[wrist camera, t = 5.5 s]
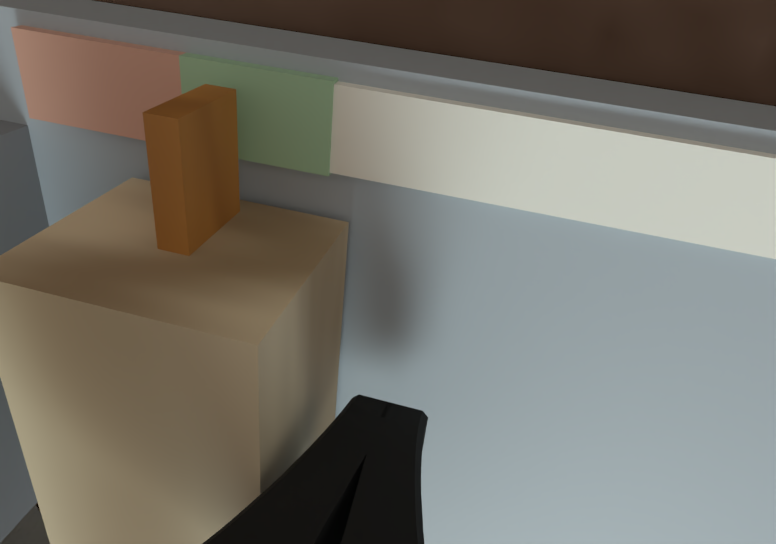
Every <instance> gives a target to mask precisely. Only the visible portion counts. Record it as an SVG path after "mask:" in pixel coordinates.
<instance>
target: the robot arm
mask: <svg viewBox="0 0 776 544" xmlns="http://www.w3.org/2000/svg"><path fill="white" fill-rule="evenodd" d="M427 422H428V417H427V415H426V414H425V413H424V412H423V411H422V410H418V409H414V408H410V407H406V406H402V405H398V404H395V403H391V402H387V401H383V400H379V399H375V398H371V397H367V396H363V395H357V396H355V397H353V398H352V399H351V400H350V401H349V403H348V404H347V405H346V406H345V408H344V409H343V410H342V411H341V412H340V414H339V415H338V416H337V417H336V418H335V420H334V421H333V422H332V423H331V424H330V425H329V426H328V428H327V429H326V430H325V431H324V432H323V433H322V434H321V435H320V436H319V437H318V438H317V440H316V441H315V442H314V443H313V444H312V445H311V446H310V447H309V448H308V449H307V450H306V451H305V452H304V453H303V454H302V455H301V456H300V457H299V458H298V459H297V460H296V461H295V462H294V463H293V464H292V465H291V466H290V467H289V468H288V469H287V470H286V471H285V472H284V473H283V474H282V475H281V476H280V477H279V478H278V479H277V480H276V481H275V482H274V483H273V484H271V485H270V486H269V487H268V488H267V489H266V490H265V491H264V492H263V493H261V494H260V495H259V496H258V497H257V498H256V499H255V500H254V501H252V502H251V503H250V504H249V505H248V506H247V507H246V508H245V509H243V510H242V511H241V512H240V513H239V514H238V515H237V516H235V517H234V518H233V519H232V520H231V521H230V522H228V523H227V524H226V525H225V526H223V527H222V528H221V529H220V530H219V531H217V532H216V533H215V534H214V535H212V536H211V537H210V538H209V539H207V540H206V541H205V542H204V543H202V544H424V533H423V516H422V498H421V462H422V450H423V444H424V438H425V433H426V427H427Z"/></svg>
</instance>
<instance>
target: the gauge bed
mask: <svg viewBox="0 0 776 544" xmlns="http://www.w3.org/2000/svg"><path fill="white" fill-rule="evenodd" d="M204 84H209V85H215V86H221V87H227V88H232V89H236V99H237V131H238V163H239V195H240V200H244V201H249V202H254V203H259V204H264V205H268V206H273V207H278V208H283V209H288V210H293V211H297V212H302V213H307V214H312V215H317V216H322V217H326V218H331V219H336V220H341V221H346V222H349V227H348V242H347V256H346V270H345V284H344V299H343V313H342V327H341V341H340V356H339V370H338V384H337V398H336V413H335V418H336V417H337V416H338V415H339V414H340V412H341V411H342V410H343V409H344V408H345V406H346V405H347V404H348V403H349V401H350V400H351V399H352V398H353V397H355V396H357V395H363V396H367V397H371V398H375V399H379V400H383V401H387V402H391V403H395V404H398V405H402V406H406V407H410V408H414V409H418V410H422V411H423V412H424V413H425V414H426V415H427V417H428V422H427V427H426V433H425V438H424V444H423V450H422V462H421V498H422V516H423V533H424V544H776V106H770V105H764V104H757V103H751V102H744V101H738V100H732V99H725V98H719V97H712V96H706V95H699V94H693V93H686V92H680V91H674V90H667V89H661V88H654V87H648V86H641V85H635V84H628V83H622V82H615V81H609V80H603V79H596V78H590V77H583V76H577V75H570V74H564V73H557V72H551V71H545V70H538V69H532V68H525V67H519V66H512V65H506V64H499V63H493V62H487V61H480V60H474V59H467V58H461V57H454V56H448V55H441V54H435V53H428V52H422V51H416V50H409V49H403V48H396V47H390V46H383V45H377V44H370V43H364V42H358V41H351V40H345V39H338V38H332V37H325V36H319V35H312V34H306V33H300V32H293V31H287V30H280V29H274V28H267V27H261V26H254V25H248V24H242V23H235V22H229V21H222V20H216V19H209V18H203V17H196V16H190V15H183V14H177V13H171V12H164V11H158V10H151V9H145V8H138V7H132V6H125V5H119V4H113V3H106V2H100V1H93V0H0V255H2V254H4V253H5V252H7V251H9V250H10V249H12V248H14V247H15V246H17V245H19V244H20V243H22V242H24V241H25V240H27V239H29V238H31V237H32V236H34V235H36V234H37V233H39V232H41V231H42V230H44V229H46V228H47V227H49V226H51V225H53V224H54V223H56V222H58V221H59V220H61V219H63V218H64V217H66V216H68V215H69V214H71V213H73V212H74V211H76V210H78V209H80V208H81V207H83V206H85V205H86V204H88V203H90V202H91V201H93V200H95V199H96V198H98V197H100V196H101V195H103V194H105V193H107V192H108V191H110V190H112V189H113V188H115V187H117V186H118V185H120V184H122V183H123V182H125V181H127V180H128V179H130V178H132V177H133V178H138V179H143V180H148V181H150V176H149V167H148V158H147V149H146V140H145V131H144V122H143V113H142V112H144V111H147V110H149V109H151V108H153V107H155V106H158V105H160V104H162V103H164V102H166V101H169V100H171V99H173V98H175V97H177V96H180V95H182V94H184V93H186V92H188V91H191V90H193V89H195V88H197V87H199V86H201V85H204ZM36 503H37V498H36V495H35V492H34V488H33V485H32V482H31V478H30V475H29V472H28V468H27V465H26V462H25V458H24V455H23V452H22V448H21V445H20V442H19V438H18V435H17V432H16V428H15V425H14V422H13V418H12V415H11V411H10V408H9V405H8V401H7V398H6V395H5V391H4V388H3V385H2V381H1V378H0V543H1V542H2V540H3V539H4V538H5V537H6V536H7V535H8V534H9V533H10V532H11V531H12V530H13V528H14V527H15V526H16V525H17V524H18V523H19V522H20V521H21V520H22V519H23V517H24V516H25V515H26V514H27V513H28V512H29V511H30V510H31V509H32V508H33V507H34V505H35V504H36Z"/></svg>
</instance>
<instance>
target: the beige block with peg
mask: <svg viewBox="0 0 776 544" xmlns="http://www.w3.org/2000/svg"><path fill="white" fill-rule="evenodd" d="M142 113H143V122H144V131H145V140H146V149H147V158H148V167H149V176H150V181H148V180H143V179H138V178H133V177H132V178H130V179H128V180H127V181H125V182H123V183H122V184H120V185H118V186H117V187H115V188H113V189H112V190H110V191H108V192H107V193H105V194H103V195H101V196H100V197H98V198H96V199H95V200H93V201H91V202H90V203H88V204H86V205H85V206H83V207H81V208H80V209H78V210H76V211H74V212H73V213H71V214H69V215H68V216H66V217H64V218H63V219H61V220H59V221H58V222H56V223H54V224H53V225H51V226H49V227H47V228H46V229H44V230H42V231H41V232H39V233H37V234H36V235H34V236H32V237H31V238H29V239H27V240H25V241H24V242H22V243H20V244H19V245H17V246H15V247H14V248H12V249H10V250H9V251H7V252H5V253H4V254H2V255H0V378H1V381H2V385H3V388H4V391H5V395H6V398H7V401H8V405H9V408H10V411H11V415H12V418H13V422H14V425H15V428H16V432H17V435H18V438H19V442H20V445H21V448H22V452H23V455H24V458H25V462H26V465H27V468H28V472H29V475H30V478H31V482H32V485H33V488H34V492H35V495H36V498H37V502H38V505H39V508H40V512H41V515H42V519H43V522H44V525H45V529H46V532H47V535H48V539H49V542H50V544H202V543H204V542H205V541H206V540H207V539H209V538H210V537H211V536H212V535H214V534H215V533H216V532H217V531H219V530H220V529H221V528H222V527H223V526H225V525H226V524H227V523H228V522H230V521H231V520H232V519H233V518H234V517H235V516H237V515H238V514H239V513H240V512H241V511H242V510H243V509H245V508H246V507H247V506H248V505H249V504H250V503H251V502H252V501H254V500H255V499H256V498H257V497H258V496H259V495H260V494H261V493H263V492H264V491H265V490H266V489H267V488H268V487H269V486H270V485H271V484H273V483H274V482H275V481H276V480H277V479H278V478H279V477H280V476H281V475H282V474H283V473H284V472H285V471H286V470H287V469H288V468H289V467H290V466H291V465H292V464H293V463H294V462H295V461H296V460H297V459H298V458H299V457H300V456H301V455H302V454H303V453H304V452H305V451H306V450H307V449H308V448H309V447H310V446H311V445H312V444H313V443H314V442H315V441H316V440H317V438H318V437H319V436H320V435H321V434H322V433H323V432H324V431H325V430H326V429H327V428H328V426H329V425H330V424H331V423H332V422H333V421H334V420H335V413H336V398H337V384H338V370H339V356H340V341H341V327H342V313H343V299H344V284H345V270H346V256H347V242H348V227H349V222H346V221H341V220H336V219H331V218H326V217H322V216H317V215H312V214H307V213H302V212H297V211H293V210H288V209H283V208H278V207H273V206H268V205H264V204H259V203H254V202H249V201H244V200H240V195H239V163H238V131H237V99H236V89H232V88H227V87H221V86H215V85H209V84H204V85H201V86H199V87H197V88H195V89H193V90H191V91H188V92H186V93H184V94H182V95H180V96H177V97H175V98H173V99H171V100H169V101H166V102H164V103H162V104H160V105H158V106H155V107H153V108H151V109H149V110H147V111H144V112H142Z"/></svg>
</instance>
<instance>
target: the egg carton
mask: <svg viewBox="0 0 776 544" xmlns="http://www.w3.org/2000/svg"><path fill="white" fill-rule="evenodd" d="M0 544H50V542H49V539H48V535H47V532H46V529H45V525H44V522H43V519H42V515H41V512H40V511H39V510H38V508H37V506H36V504H35V505H34V507H33V508H32V509H31V510H30V511H29V512H28V513H27V514H26V515H25V516H24V517H23V519H22V520H21V521H20V522H19V523H18V524H17V525H16V526H15V527H14V528H13V530H12V531H11V532H10V533H9V534H8V535H7V536H6V537H5V538H4V539H3V540H2V542H1V543H0Z"/></svg>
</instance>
